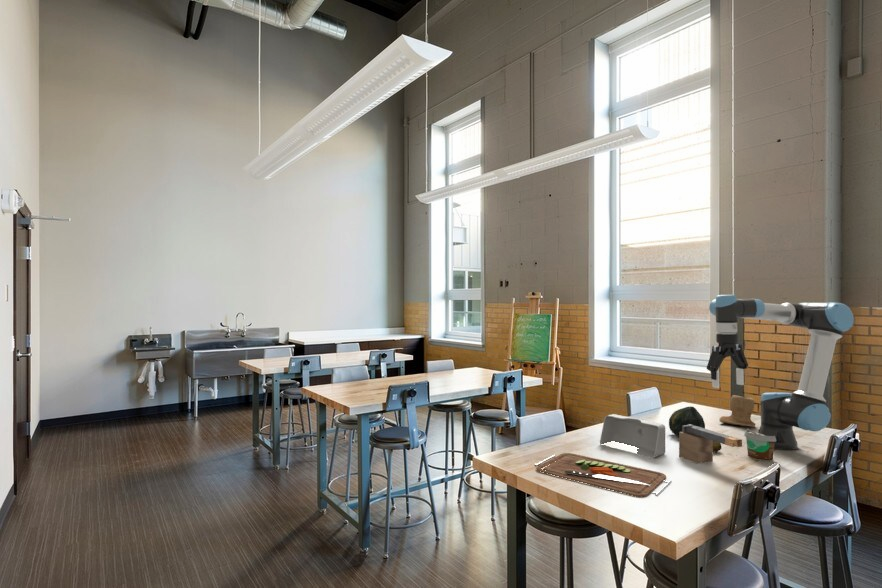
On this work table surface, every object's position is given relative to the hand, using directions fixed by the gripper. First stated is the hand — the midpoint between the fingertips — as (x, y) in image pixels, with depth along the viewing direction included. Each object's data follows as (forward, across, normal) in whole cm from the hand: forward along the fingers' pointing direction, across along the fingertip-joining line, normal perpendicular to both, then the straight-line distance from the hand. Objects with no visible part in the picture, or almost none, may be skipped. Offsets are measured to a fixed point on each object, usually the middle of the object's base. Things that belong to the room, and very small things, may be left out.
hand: (728, 386), depth 202 cm
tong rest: (+29, -13, -2) cm, 32 cm away
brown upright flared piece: (+31, +54, +38) cm, 73 cm away
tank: (+29, -25, +25) cm, 45 cm away
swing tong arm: (+19, -14, -3) cm, 24 cm away
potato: (+29, 0, +13) cm, 32 cm away
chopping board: (+28, -60, +5) cm, 67 cm away
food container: (+30, +12, -2) cm, 32 cm away
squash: (+30, +12, +32) cm, 45 cm away
